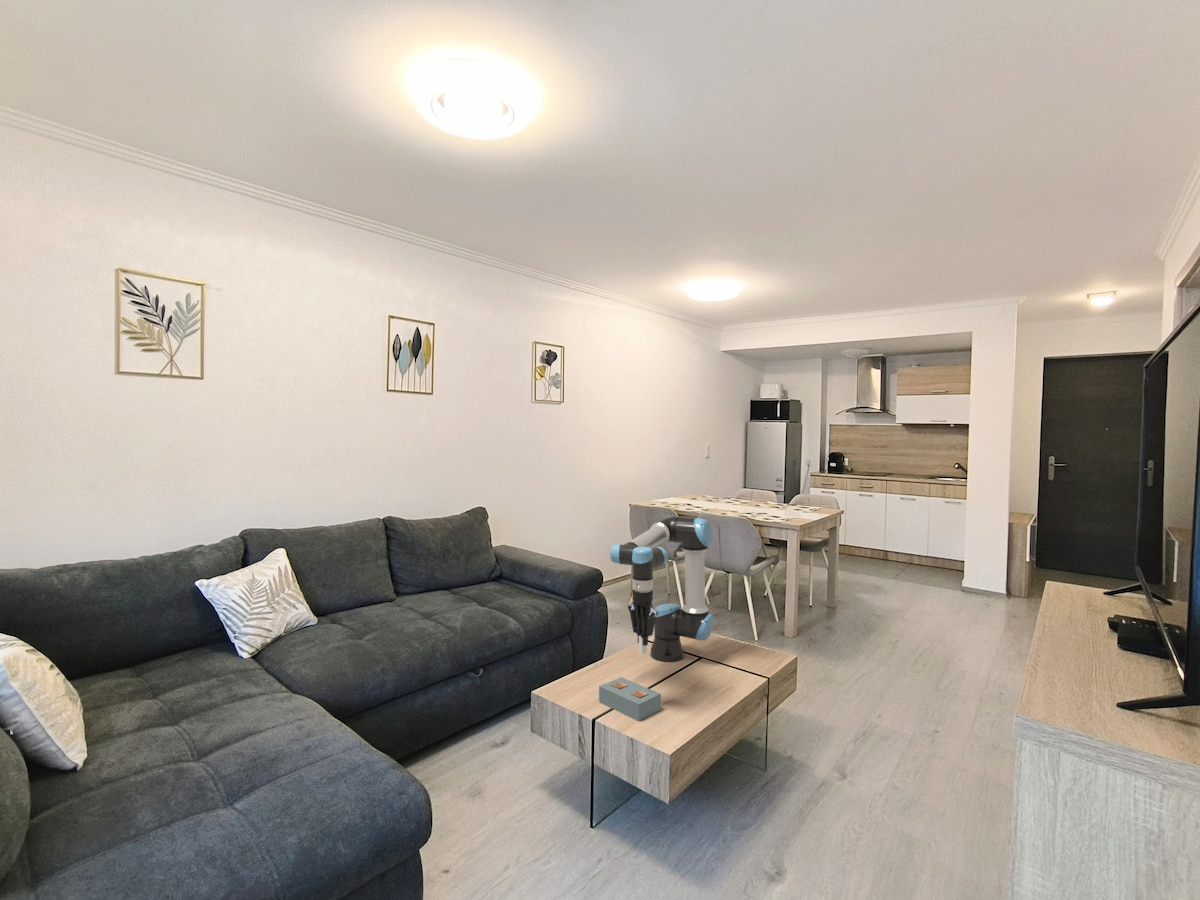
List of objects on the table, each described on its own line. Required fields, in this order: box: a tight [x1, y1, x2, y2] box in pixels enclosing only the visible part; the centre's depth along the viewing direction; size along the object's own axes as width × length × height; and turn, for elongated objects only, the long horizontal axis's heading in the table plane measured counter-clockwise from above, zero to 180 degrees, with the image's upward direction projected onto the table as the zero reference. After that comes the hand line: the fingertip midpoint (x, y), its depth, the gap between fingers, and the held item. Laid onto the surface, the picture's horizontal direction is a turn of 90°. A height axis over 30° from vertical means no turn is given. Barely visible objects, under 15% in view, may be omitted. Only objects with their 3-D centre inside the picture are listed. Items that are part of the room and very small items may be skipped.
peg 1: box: [612, 682, 627, 689], centre depth 211 cm, size 4×4×6 cm
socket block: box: [598, 676, 662, 722], centre depth 207 cm, size 12×20×6 cm, turn 44°
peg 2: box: [632, 690, 648, 698], centre depth 204 cm, size 4×4×6 cm
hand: (642, 653), depth 207 cm, fingers closed
